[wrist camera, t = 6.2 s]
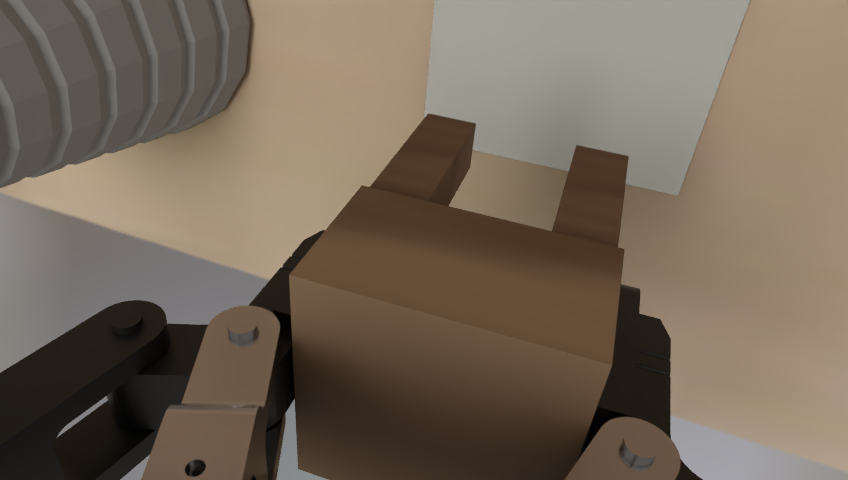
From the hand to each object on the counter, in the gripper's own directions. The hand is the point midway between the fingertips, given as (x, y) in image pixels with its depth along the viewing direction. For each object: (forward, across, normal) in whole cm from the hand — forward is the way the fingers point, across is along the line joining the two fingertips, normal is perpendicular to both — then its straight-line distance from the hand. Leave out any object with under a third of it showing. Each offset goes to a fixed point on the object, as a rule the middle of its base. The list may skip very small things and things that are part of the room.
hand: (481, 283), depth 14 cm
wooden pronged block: (+3, 0, 0) cm, 3 cm away
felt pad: (+14, 0, 0) cm, 14 cm away
